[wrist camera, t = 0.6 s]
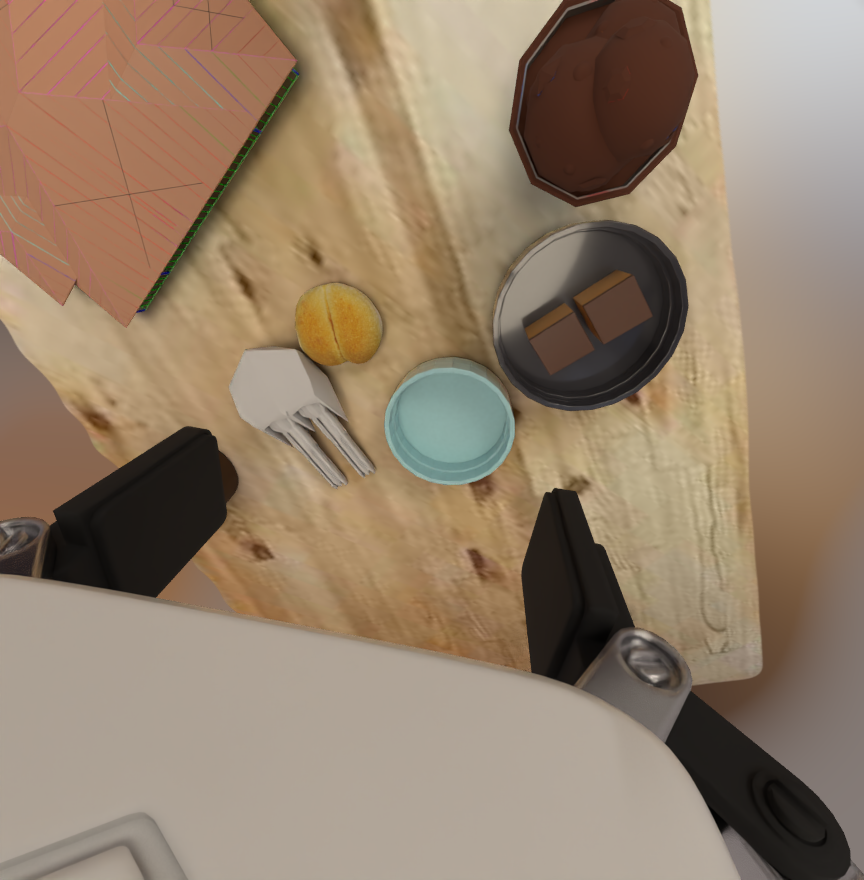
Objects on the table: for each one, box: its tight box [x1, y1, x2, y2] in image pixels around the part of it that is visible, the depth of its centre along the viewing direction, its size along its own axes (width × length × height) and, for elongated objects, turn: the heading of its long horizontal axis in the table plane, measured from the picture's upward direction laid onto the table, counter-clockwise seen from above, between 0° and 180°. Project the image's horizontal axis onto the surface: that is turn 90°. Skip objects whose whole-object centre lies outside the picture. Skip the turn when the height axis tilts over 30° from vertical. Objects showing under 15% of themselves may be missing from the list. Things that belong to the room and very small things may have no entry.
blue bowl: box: [384, 357, 515, 485], centre depth 45 cm, size 14×14×4 cm
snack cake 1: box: [525, 303, 595, 376], centre depth 38 cm, size 4×4×5 cm
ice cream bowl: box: [509, 0, 698, 207], centre depth 27 cm, size 11×11×15 cm
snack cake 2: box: [573, 270, 653, 344], centre depth 37 cm, size 4×4×5 cm
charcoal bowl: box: [492, 220, 688, 411], centre depth 38 cm, size 17×17×4 cm
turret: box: [229, 346, 376, 489], centre depth 47 cm, size 10×20×5 cm, turn 28°
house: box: [0, 0, 299, 328], centre depth 33 cm, size 23×33×8 cm
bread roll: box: [295, 283, 383, 366], centre depth 41 cm, size 8×9×4 cm
